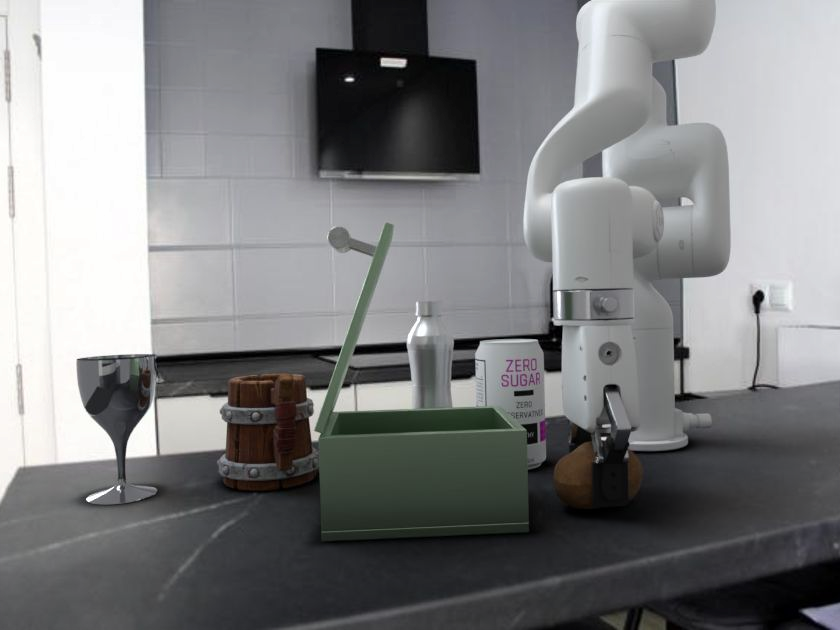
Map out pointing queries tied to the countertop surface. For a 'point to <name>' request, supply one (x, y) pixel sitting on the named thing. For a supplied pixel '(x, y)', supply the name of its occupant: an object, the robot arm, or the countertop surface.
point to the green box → (423, 473)
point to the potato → (588, 476)
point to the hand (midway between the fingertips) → (597, 492)
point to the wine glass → (118, 410)
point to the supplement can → (515, 387)
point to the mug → (268, 433)
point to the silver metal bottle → (430, 357)
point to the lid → (343, 244)
